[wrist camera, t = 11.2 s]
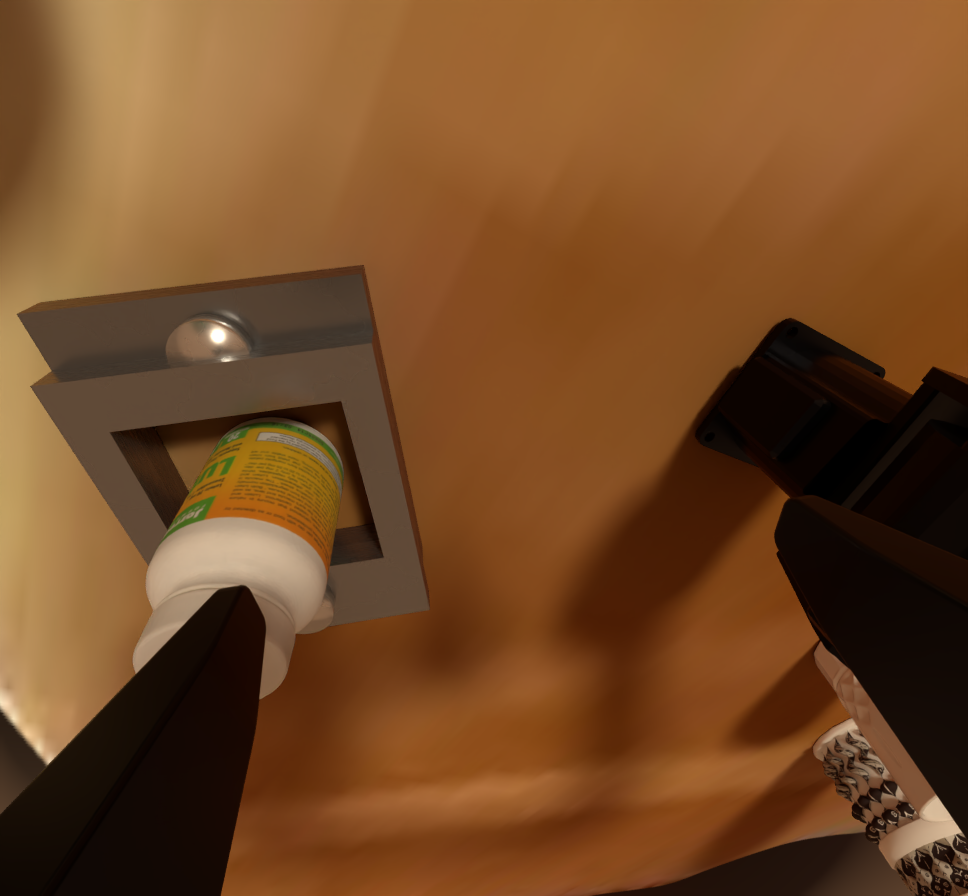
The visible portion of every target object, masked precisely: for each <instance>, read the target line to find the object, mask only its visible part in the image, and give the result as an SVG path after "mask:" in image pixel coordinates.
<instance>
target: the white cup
mask: <svg viewBox="0 0 968 896" xmlns="http://www.w3.org/2000/svg"><path fill="white" fill-rule="evenodd" d="M814 658H815V662H816V665H817V667H818V668H819V669H820V671H821V672H822V674H823V675H824V676H825V678H826V679H827V681H828V682H829V684H830V685H831V686H832V688H833V689H834V691H836V692H837V696H838V698H839V700H840V701H841V703H842V705H843V706H844V708H845V709H846V711H847V712H848V713H849V714H850V716H851V717H852V719H853V720H854V722H855V724H856V726H857V727H858V729H859V730H860V732H861V733H862V735H863V736H864V738H865V739H866V740H867V742H868V743H869V745H870V746H871V748H872V749H873V751H874V752H875V753H876V755H877V756H878V758H879V759H880V761H881V762H882V763H883V765H884V766H885V768H886V769H887V771H888V772H889V773H890V775H891V776H892V778H893V779H894V781H895V782H896V784H897V785H898V786H899V788H900V789H901V791H902V792H903V794H904V795H905V797H906V798H907V799H908V801H909V802H910V804H911V805H912V807H913V808H914V810H915V811H916V813H917V814H918V815H919V817H920V818H921V819H922V820H924V821H928V822H947V821H954V820H953V819H952V817H951V816H950V814H949V813H948V811H947V810H946V808H945V807H944V805H943V804H942V803H941V801H940V800H939V798H938V797H937V795H936V794H935V792H934V791H933V789H932V788H931V787H930V785H929V784H928V782H927V781H926V779H925V778H924V776H923V775H922V773H921V772H920V771H919V769H918V768H917V766H916V765H915V763H914V762H913V760H912V759H911V757H910V756H909V754H908V753H907V752H906V750H905V749H904V747H903V746H902V744H901V743H900V741H899V740H898V738H897V737H896V736H895V734H894V733H893V731H892V730H891V728H890V727H889V725H888V724H887V722H886V721H885V719H884V718H883V717H882V715H881V714H880V712H879V711H878V709H877V708H876V706H875V705H874V703H873V702H872V701H871V699H870V698H869V696H868V695H867V693H866V692H865V690H864V689H863V687H862V686H861V685H860V683H859V682H858V680H857V679H856V677H855V676H854V674H853V673H852V671H851V670H850V669H849V668H847V667H846V666H845V665H844V664H843V663H841V662H840V661H839V660H838V659H837V658H836V657H835V656H834V655H832V654H831V653H830V652H828V651H827V650H826V649H825V647H824V646H823V644H822V642H821V641H820V643H819V644H818V646H817V648H816V650H815V652H814Z"/></svg>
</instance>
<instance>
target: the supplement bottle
mask: <svg viewBox="0 0 968 896" xmlns="http://www.w3.org/2000/svg"><path fill="white" fill-rule="evenodd" d="M343 480H344V470H343V464H342V461H341V458H340V455H339V453H338V452H337V450H336V448H335V447H334V445H333V444H332V443H331V442H330V441H329V440H328V439H327V438H326V437H325V436H324V435H323V434H321V433H320V432H318V431H317V430H315V429H313V428H312V427H310V426H308V425H306V424H303V423H301V422H298V421H294V420H291V419H286V418H276V417H266V418H258V419H253V420H249V421H246V422H243V423H241V424H239V425H237V426H235V427H234V428H232V429H231V430H230V431H228V432H227V433H226V434H225V435H224V436H223V437H222V438H221V440H220V441H219V442H218V444H217V445H216V447H215V448H214V450H213V452H212V454H211V455H210V457H209V459H208V461H207V462H206V464H205V466H204V468H203V469H202V471H201V473H200V475H199V476H198V478H197V480H196V482H195V484H194V485H193V487H192V489H191V491H190V492H189V494H188V496H187V497H186V499H185V501H184V503H183V505H182V506H181V508H180V510H179V512H178V513H177V515H176V517H175V518H174V520H173V522H172V524H171V525H170V527H169V529H168V531H167V532H166V534H165V536H164V538H163V540H162V541H161V543H160V544H159V546H158V548H157V550H156V552H155V554H154V556H153V558H152V560H151V562H150V564H149V567H148V570H147V575H146V592H147V596H148V599H149V602H150V604H151V606H152V608H153V610H154V611H153V613H152V615H151V617H150V618H149V620H148V623H147V625H146V627H145V629H144V631H143V633H142V635H141V637H140V639H139V641H138V643H137V645H136V647H135V650H134V654H133V667H134V670H135V672H136V673H137V672H138V671H139V670H140V669H141V668H142V667H143V666H144V665H145V664H146V663H147V662H148V661H149V660H150V659H151V658H152V657H153V656H154V655H155V654H156V653H157V652H158V651H159V649H160V648H161V647H162V646H163V645H164V644H165V643H166V642H167V641H168V640H169V639H170V638H171V637H172V636H173V635H174V634H175V633H176V632H177V631H178V630H179V629H180V628H181V627H182V626H183V625H184V624H185V623H186V622H187V620H188V619H189V618H190V617H191V616H192V615H193V614H194V613H195V612H196V611H197V610H198V609H199V608H200V607H201V606H202V605H203V604H204V603H205V602H206V601H207V600H208V599H209V598H210V597H211V596H212V595H213V594H214V593H215V592H216V591H217V590H219V589H221V588H226V587H232V586H238V585H245V586H247V587H248V588H249V589H250V590H251V592H252V594H253V596H254V598H255V600H256V602H257V604H258V605H259V607H260V609H261V611H262V613H263V615H264V618H265V622H266V638H265V648H264V658H263V668H262V677H261V687H260V697H259V699H262V698H263V697H265V696H267V695H269V694H270V693H272V692H273V691H274V690H276V689H277V688H278V687H279V686H280V685H281V683H282V682H283V680H284V679H285V676H286V674H287V672H288V667H289V663H290V659H291V655H292V651H293V648H294V644H295V634H296V633H298V632H299V631H301V630H302V629H303V628H304V627H305V626H306V625H308V624H309V622H310V621H311V620H312V619H313V618H314V616H315V615H316V614H317V612H318V610H319V608H320V606H321V604H322V601H323V598H324V594H325V590H326V586H327V580H328V574H329V568H330V561H331V555H332V549H333V543H334V537H335V531H336V525H337V519H338V513H339V507H340V501H341V495H342V489H343Z"/></svg>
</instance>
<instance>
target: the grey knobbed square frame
mask: <svg viewBox="0 0 968 896" xmlns="http://www.w3.org/2000/svg"><path fill="white" fill-rule="evenodd" d="M17 315H18V317H19V318H20V320H21V322H22V323H23V325H24V327H25V328H26V330H27V331H28V333H29V335H30V336H31V338H32V339H33V341H34V343H35V344H36V346H37V348H38V349H39V351H40V352H41V354H42V356H43V357H44V359H45V360H46V362H47V364H48V365H49V367H50V369H51V370H52V371H51V372H50V373H48V374H47V375H46V376H44V377H43V378H41V379H40V380H39V381H37V382H36V383H34V384H33V385H32V386H30V387H31V388H32V390H33V391H34V393H35V394H36V396H37V397H38V399H39V400H40V402H41V403H42V405H43V406H44V408H45V410H46V411H47V413H48V414H49V416H50V417H51V419H52V420H53V422H54V423H55V425H56V426H57V428H58V429H59V431H60V432H61V434H62V435H63V437H64V438H65V440H66V441H67V443H68V444H69V446H70V447H71V449H72V451H73V452H74V454H75V455H76V457H77V458H78V460H79V461H80V463H81V464H82V466H83V467H84V469H85V470H86V472H87V473H88V475H89V476H90V478H91V479H92V481H93V482H94V484H95V485H96V487H97V488H98V490H99V492H100V493H101V495H102V496H103V498H104V499H105V501H106V502H107V504H108V505H109V507H110V508H111V510H112V511H113V513H114V514H115V516H116V517H117V519H118V520H119V522H120V523H121V525H122V526H123V528H124V530H125V531H126V533H127V534H128V536H129V537H130V539H131V540H132V542H133V543H134V545H135V546H136V548H137V549H138V551H139V552H140V554H141V555H142V557H143V558H144V560H145V561H146V563H147V564H148V566H149V564H150V562H151V560H152V558H153V556H154V554H155V552H156V550H157V548H158V546H159V544H160V543H161V541H162V540H163V538H164V536H165V534H166V532H167V531H168V529H169V527H170V525H171V524H172V522H173V520H174V518H175V517H176V515H177V513H178V512H179V510H180V508H181V506H182V505H183V503H184V501H185V499H186V497H187V496H188V494H189V492H188V490H187V488H186V486H185V485H184V483H183V481H182V479H181V477H180V475H179V473H178V471H177V469H176V468H175V466H174V464H173V462H172V460H171V458H170V456H169V454H168V452H167V451H166V449H165V447H164V445H163V443H162V441H161V439H160V437H159V435H158V434H157V432H156V430H155V428H154V426H159V425H167V424H174V423H182V422H189V421H197V420H204V419H212V418H219V417H227V416H234V415H242V414H249V413H257V412H264V411H271V410H279V409H286V408H294V407H301V406H309V405H316V404H324V403H331V402H339V401H341V402H342V406H343V409H344V413H345V417H346V420H347V424H348V428H349V431H350V435H351V439H352V442H353V446H354V450H355V453H356V457H357V461H358V464H359V468H360V472H361V475H362V479H363V483H364V486H365V490H366V494H367V497H368V501H369V505H370V508H371V512H372V516H373V519H374V523H375V524H369V525H363V526H356V527H349V528H343V529H336V531H335V537H334V543H333V549H332V555H331V561H330V568H329V574H328V580H327V586H326V590H325V594H324V598H323V601H322V604H321V606H320V608H319V610H318V612H317V614H316V615H315V616H314V618H313V619H312V620H311V621H310V622H309V624H308V625H306V626H305V627H304V628H303V629H302V630H301V631H299V632H298V633H297V634H310V633H315V632H319V631H321V630H323V629H325V628H326V627H328V626H334V625H340V624H346V623H353V622H359V621H365V620H371V619H377V618H383V617H389V616H395V615H401V614H407V613H413V612H419V611H426V610H430V604H429V589H428V585H427V580H426V575H425V571H424V566H423V552H422V543H421V538H420V533H419V529H418V524H417V519H416V514H415V509H414V505H413V500H412V495H411V490H410V485H409V481H408V476H407V471H406V466H405V461H404V457H403V452H402V447H401V442H400V437H399V433H398V428H397V423H396V418H395V413H394V409H393V404H392V399H391V394H390V389H389V385H388V380H387V375H386V370H385V365H384V361H383V356H382V351H381V346H380V341H379V337H378V332H377V327H376V322H375V317H374V313H373V308H372V303H371V298H370V293H369V289H368V284H367V279H366V274H365V269H364V265H360V266H352V267H343V268H335V269H326V270H317V271H309V272H300V273H291V274H283V275H274V276H265V277H257V278H248V279H239V280H231V281H222V282H214V283H205V284H196V285H188V286H179V287H170V288H162V289H153V290H144V291H136V292H127V293H119V294H110V295H101V296H93V297H84V298H75V299H67V300H58V301H49V302H41V303H38V304H36V305H34V306H32V307H30V308H28V309H26V310H24V311H22V312H20V313H18V314H17Z"/></svg>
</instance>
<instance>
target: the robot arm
mask: <svg viewBox="0 0 968 896" xmlns="http://www.w3.org/2000/svg"><path fill="white" fill-rule="evenodd" d="M790 328H792V329H791V331H790V332H789V333H788V334H787V335H786V333H787V331H788V330H789V329H790ZM884 376H885V369H884V368H883V367H881V366H879V365H877V364H875V363H873V362H872V361H870V360H868V359H866V358H864V357H863V356H861V355H859V354H857V353H855V352H854V351H852V350H850V349H848V348H846V347H845V346H843V345H841V344H839V343H837V342H836V341H834V340H832V339H830V338H828V337H827V336H825V335H823V334H821V333H819V332H817V331H816V330H814V329H812V328H810V327H808V326H807V325H805V324H803V323H801V322H799V321H797V320H795V319H792V318H788V319H785V320H783V321H782V322H781V323H780V324H779V325H778V326H777V327H776V328H775V330H774V331H773V332H772V334H771V335H770V336H769V337H768V339H767V340H766V341H765V343H764V344H763V345H762V347H761V348H760V349H759V350H758V352H757V353H756V354H755V356H754V357H753V358H752V360H751V361H750V362H749V363H748V365H747V366H746V367H745V369H744V370H743V371H742V372H741V374H740V375H739V376H738V378H737V379H736V380H735V382H734V383H733V384H732V385H731V387H730V388H729V389H728V391H727V392H726V393H725V395H724V396H723V397H722V398H721V400H720V401H719V402H718V404H717V405H716V406H715V408H714V409H713V410H712V411H711V413H710V414H709V415H708V417H707V418H706V419H705V421H704V422H703V423H702V424H701V426H700V427H699V428H698V430H697V432H696V435H695V437H696V439H697V440H698V441H699V442H700V443H701V444H702V445H703V446H706V447H708V448H711V449H714V450H716V451H719V452H721V453H724V454H726V455H729V456H731V457H734V458H736V459H739V460H742V461H744V462H747V463H749V464H752V465H754V466H757V467H759V468H760V469H761V470H762V471H763V472H764V473H765V474H766V475H768V476H769V477H770V478H771V479H772V480H773V481H774V482H775V483H776V484H777V485H778V486H779V487H780V488H781V489H782V490H783V491H784V492H785V493H786V494H787V495H788V496H789V497H790V498H789V499H788V500H787V501H786V502H785V503H784V505H783V508H782V511H781V514H780V517H779V520H778V523H777V526H776V529H775V533H774V538H775V543H776V546H777V548H778V550H779V551H778V552H777V553H776V554H777V557H778V559H779V561H780V563H781V565H782V567H783V569H784V571H785V573H786V575H787V577H788V579H789V581H790V583H791V585H792V587H793V589H794V591H795V593H796V595H797V597H798V599H799V601H800V603H801V605H802V607H803V609H804V611H805V613H806V615H807V617H808V619H809V621H810V623H811V625H812V627H813V629H814V630H815V632H816V634H817V635H818V637H819V639H820V640H821V642H822V644H823V646H824V647H825V649H826V650H827V651H828V652H830V653H831V654H832V655H834V656H835V657H836V658H837V659H838V660H839V661H840V662H841V663H843V664H844V665H845V666H846V667H847V668H849V669H850V670H851V671H852V673H853V674H854V676H855V677H856V679H857V680H858V682H859V683H860V685H861V686H862V687H863V689H864V690H865V692H866V693H867V695H868V696H869V698H870V699H871V701H872V702H873V703H874V705H875V706H876V708H877V709H878V711H879V712H880V714H881V715H882V717H883V718H884V719H885V721H886V722H887V724H888V725H889V727H890V728H891V730H892V731H893V733H894V734H895V736H896V737H897V738H898V740H899V741H900V743H901V744H902V746H903V747H904V749H905V750H906V752H907V753H908V754H909V756H910V757H911V759H912V760H913V762H914V763H915V765H916V766H917V768H918V769H919V771H920V772H921V773H922V775H923V776H924V778H925V779H926V781H927V782H928V784H929V785H930V787H931V788H932V789H933V791H934V792H935V794H936V795H937V797H938V798H939V800H940V801H941V803H942V804H943V805H944V807H945V808H946V810H947V811H948V813H949V814H950V816H951V817H952V819H953V820H954V822H955V823H956V824H957V826H958V827H959V829H960V830H961V832H962V833H963V835H964V836H965V838H966V839H967V840H968V378H965V377H962V376H960V375H957V374H954V373H951V372H948V371H945V370H942V369H939V368H936V367H932V368H931V370H930V371H929V372H928V373H927V374H926V376H925V377H924V378H923V379H922V380H921V381H923V382H924V383H923V384H922V385H921V386H920V387H919V389H918V390H917V391H916V392H915V393H914V395H912V394H910V393H908V392H906V391H905V390H903V389H901V388H899V387H897V386H895V385H893V384H892V383H890V382H888V381H886V380H884V379H883V378H884ZM708 433H710V434H709V435H708V436H707V437H705V436H706V435H707V434H708ZM265 638H266V622H265V618H264V615H263V613H262V611H261V609H260V607H259V605H258V604H257V602H256V600H255V598H254V596H253V594H252V592H251V590H250V589H249V588H248V587H247V586H245V585H238V586H232V587H226V588H221V589H219V590H217V591H216V592H215V593H214V594H213V595H212V596H211V597H210V598H209V599H208V600H207V601H206V602H205V603H204V604H203V605H202V606H201V607H200V608H199V609H198V610H197V611H196V612H195V613H194V614H193V615H192V616H191V617H190V618H189V619H188V620H187V622H186V623H185V624H184V625H183V626H182V627H181V628H180V629H179V630H178V631H177V632H176V633H175V634H174V635H173V636H172V637H171V638H170V639H169V640H168V641H167V642H166V643H165V644H164V645H163V646H162V647H161V648H160V649H159V651H158V652H157V653H156V654H155V655H154V656H153V657H152V658H151V659H150V660H149V661H148V662H147V663H146V664H145V665H144V666H143V667H142V668H141V669H140V670H139V671H138V672H137V673H136V674H135V675H134V676H133V677H132V678H131V680H130V681H129V682H128V683H127V684H126V685H125V686H124V687H123V688H122V689H121V690H120V691H119V692H118V693H117V694H116V695H115V696H114V697H113V698H112V699H111V700H110V701H109V702H108V703H107V704H106V705H105V706H104V707H103V709H102V710H101V711H100V712H99V713H98V714H97V715H96V716H95V717H94V718H93V719H92V720H91V721H90V722H89V723H88V724H87V725H86V726H85V727H84V728H83V729H82V730H81V731H80V732H79V733H78V734H77V735H76V736H75V738H74V739H73V740H72V741H71V742H70V743H69V744H68V745H67V746H66V747H65V748H64V749H63V750H62V751H61V752H60V753H59V754H58V755H57V756H56V757H55V758H54V759H53V760H52V761H51V762H50V763H49V764H48V765H47V767H46V768H45V769H44V770H43V771H42V772H41V773H40V774H39V775H38V776H37V777H36V778H35V779H34V780H33V781H32V782H31V783H30V784H29V785H28V786H27V787H26V788H25V790H23V791H22V792H21V793H20V794H19V796H18V797H17V798H16V799H15V800H14V801H13V802H12V803H11V804H10V805H9V806H8V807H7V808H6V809H5V810H4V811H3V812H2V813H1V814H0V896H221V891H222V887H223V882H224V877H225V873H226V868H227V863H228V859H229V854H230V849H231V844H232V840H233V835H234V830H235V826H236V821H237V816H238V812H239V807H240V802H241V797H242V793H243V788H244V783H245V779H246V774H247V769H248V765H249V760H250V755H251V750H252V746H253V741H254V735H255V730H256V724H257V716H258V707H259V697H260V687H261V677H262V668H263V658H264V648H265Z"/></svg>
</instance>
